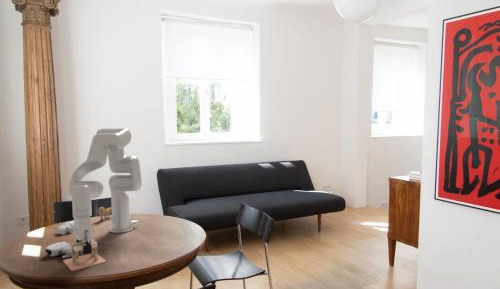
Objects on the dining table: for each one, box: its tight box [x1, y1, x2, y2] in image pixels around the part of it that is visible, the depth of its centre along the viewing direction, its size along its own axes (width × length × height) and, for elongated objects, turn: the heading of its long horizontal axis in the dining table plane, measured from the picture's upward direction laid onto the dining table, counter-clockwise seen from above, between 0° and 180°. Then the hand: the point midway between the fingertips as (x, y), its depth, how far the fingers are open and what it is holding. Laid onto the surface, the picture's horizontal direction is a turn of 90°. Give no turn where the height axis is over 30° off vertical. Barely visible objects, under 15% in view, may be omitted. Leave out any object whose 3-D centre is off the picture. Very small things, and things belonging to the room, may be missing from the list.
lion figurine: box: [97, 206, 112, 221], centre depth 229 cm, size 15×5×9 cm, turn 168°
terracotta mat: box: [62, 254, 107, 272], centre depth 161 cm, size 14×14×1 cm
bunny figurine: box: [55, 220, 74, 236], centre depth 205 cm, size 10×5×15 cm
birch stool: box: [71, 238, 99, 266], centre depth 160 cm, size 6×9×8 cm, turn 130°
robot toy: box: [40, 240, 83, 259], centre depth 169 cm, size 12×4×15 cm
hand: (84, 250), depth 161 cm, fingers open, 9 cm apart
